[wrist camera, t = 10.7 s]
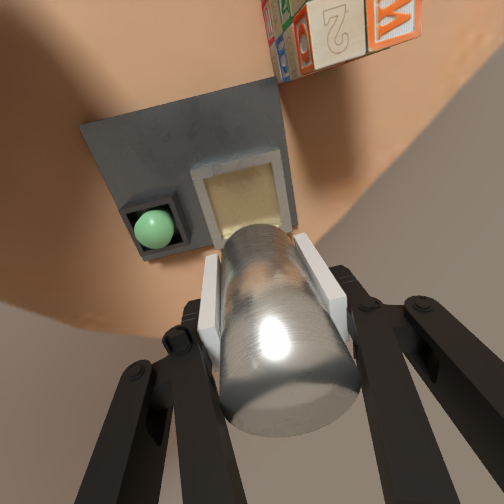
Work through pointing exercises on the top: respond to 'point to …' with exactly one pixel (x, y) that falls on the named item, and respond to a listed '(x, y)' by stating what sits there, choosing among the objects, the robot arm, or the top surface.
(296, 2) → the stack of blocks
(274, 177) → the panel
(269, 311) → the cylinder
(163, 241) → the button
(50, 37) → the top surface
